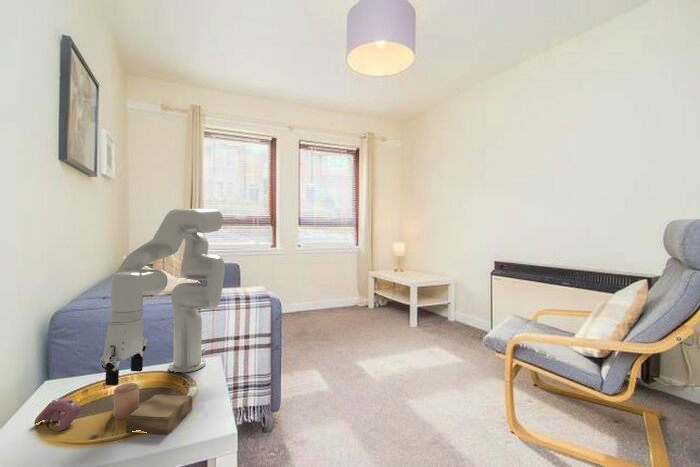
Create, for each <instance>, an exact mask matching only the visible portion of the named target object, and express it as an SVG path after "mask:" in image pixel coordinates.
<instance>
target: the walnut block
mask: <svg viewBox="0 0 700 467" xmlns="http://www.w3.org/2000/svg"><path fill="white" fill-rule="evenodd" d="M191 410H192V411H193V395H175V394H174V395H173V394H154V395H152V396H151V398H149V399H148V400H146V401H145V402H144V403H143V404H141V405H139V408H137V409H136V410H135V411H134V412H132V413H131V414H130V415H128V416H127V417H126V418H125V420H126V425H125V426H126V427H125V430H126V431H125V432H126V433H128V432H132V431H136V430H141V431H144V432H147V433H150V435H165V436H166V435H167V436H168V435H169V434H170V433H171V432H173V430H174V429H175V428H176V427H177V426H178V425H179V424H180V423H181V422H182V421H183V420H184V419H185V418H186V417H187V416H188V415H189V414H188V413H189V412H190V411H191ZM192 411H191V412H192ZM191 412H190V413H191ZM187 414H188V415H187ZM128 434H129V433H128Z"/></svg>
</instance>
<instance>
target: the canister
mask: <svg viewBox="0 0 700 467" xmlns="http://www.w3.org/2000/svg"><path fill="white" fill-rule="evenodd" d="M139 407H140V385H139V384H138V383H137V382H128V383H122V384H120V385H117V386H116V388H114V389H113V418H114V419H118V420H120V419H122V420H123V419H126V417H127V416H128V415H130V414H131V413H132V412H134V411H135V410H136V409H137V408H139Z"/></svg>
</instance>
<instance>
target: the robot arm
mask: <svg viewBox="0 0 700 467" xmlns="http://www.w3.org/2000/svg"><path fill="white" fill-rule="evenodd" d="M223 223H224V217H223V214H222V212H221V211H220V210H218V209H216V208H215V209H214V208H174V209H171V210H170V211H168V212H167V213H166V215H165V216H164V218H163V220H162V222H161V224H160V225H159V227H158V229H157V230H156V232H155V234H154V235H153V237H152V239H150V240H149V241H148V242H146V243H144V244H142V245H140V246H139V247H137V248H136V249H134V250H133V251H131V252H130V253H129V254H128V255H127V256H126V257H125V258H124V259H123V261H122V262H121V264H120V266H119V267H118V269H117V271H116V272H115V273H114V274H113V275H112V277H111V288H110V289H111V291H110V292H111V294H110V320H109V321H110V323H109V324H108V326H107V330H106V335H105V339H104V340H105V341H104V342H105V343H104V349H103V351H104V352H103V354H102V356H101V357H99V362H100V364H101V367H102V368H103V370H104V371H105V385H106V386H116V387H117V386H119V383H120V382H119V378H120V377H119V376H120V374H119V373H120V370H119V369H118V368H119V366H120V364H121V362H123V361H124V360H127V359H129V358H130V372H138V373H139V372H142V371H143V369H144V368H143V364H144V362H143V361H144V359H143V358H144V356H145V351H146V349H147V342H148V338H146V337H145V336H144V322H143V308H144V307H143V304H144V300H143V299H144V296H147V295H148V296H149V295H150V296H152V295H158V294H160V293H161V292H163V291H164V290H165V289H166V287H168V286H167V285H168V281H169V280H168V276H167V274H166V273H165V272H163V271H161V270H159V269H151V268H150V269H149V268H144V267H146V266H148V265H149V264H151V263H153V262H155V261H158V260H161V259H165V258H168V257H170V256H173V255H175V254H176V253H178V251H179V249H180V247H181V245H182V242H183V241H184V247H183V249H184V250H183V255H182V260H181V265H180V266H181V267H180V274H181V276H182V278H184V279H187V280H197V281H198V280H200V281H205V280H206V282H205V283H204V282H182V283H179V284H176V285H175V286H173V288H172V290H171V293H170V297H171V298H170V299H171V305H172V309H173V361H172V362H171V363H170V364H168V370H169V371H170V372H172V371H175V372H174V373H176V372H182V373H183V374H184V373H191V372H194V371H198V370H200V369H201V368H203V367H205V365H206V359H205V358H203V357H202V354H204V353H205V352H206V350H205V347H202V336H203V335H202V334H203V333H202V326H203V324H202V323H203V322H202V321H203V319H202V316H201V313H200V311H199V309H200V310H210V309H211V310H213V309H216V308H217V307H218V306H219V304H220V303H221V299H222V293H223V287H224V279H225V271H226V268H225V266H226V265H225V261H224V259H223V257H221V256H219V255H216V254H215V255H213V254H212V255H209V254H208V252H209V242H208V239H207V237H206V236H205V233H206V234H207V233H213V232H217V231H219V230H220V229H221V228H222V226H223ZM113 363H114V364H113Z"/></svg>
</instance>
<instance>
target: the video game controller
mask: <svg viewBox="0 0 700 467" xmlns="http://www.w3.org/2000/svg"><path fill="white" fill-rule="evenodd" d="M80 412H81V404H80V403H78V402H76V401H75V400H74V399H71V398H58V399H53V400H52V401H51V402H49V403H48V404H47V405H46V407H45V408H44V409H43V410H42V411H41V412H40V413H39V414H38V416H37V417H36V418H35V420H34V422H33V423H34V425H35V424H36V423H38V422H40V421H42V420H46V421H47V420H48V419H50V418H51V422H59V424H58V426H57V430H58V431H59V432H62V431H64V430H66V429H67V428H68V427H69V426H71V424H72V423H73V422H74V420H75V419H76V417H77V416H78V415H79V414H80Z"/></svg>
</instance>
